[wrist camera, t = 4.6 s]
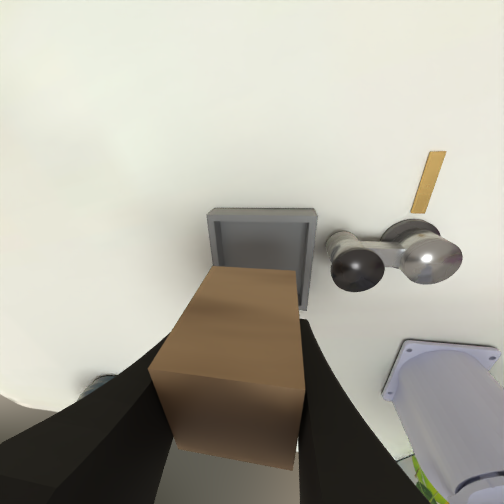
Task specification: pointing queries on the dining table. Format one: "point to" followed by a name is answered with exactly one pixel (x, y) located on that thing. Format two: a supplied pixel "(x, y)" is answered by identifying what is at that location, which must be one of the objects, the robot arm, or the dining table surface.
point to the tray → (265, 241)
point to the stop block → (236, 368)
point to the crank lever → (391, 258)
